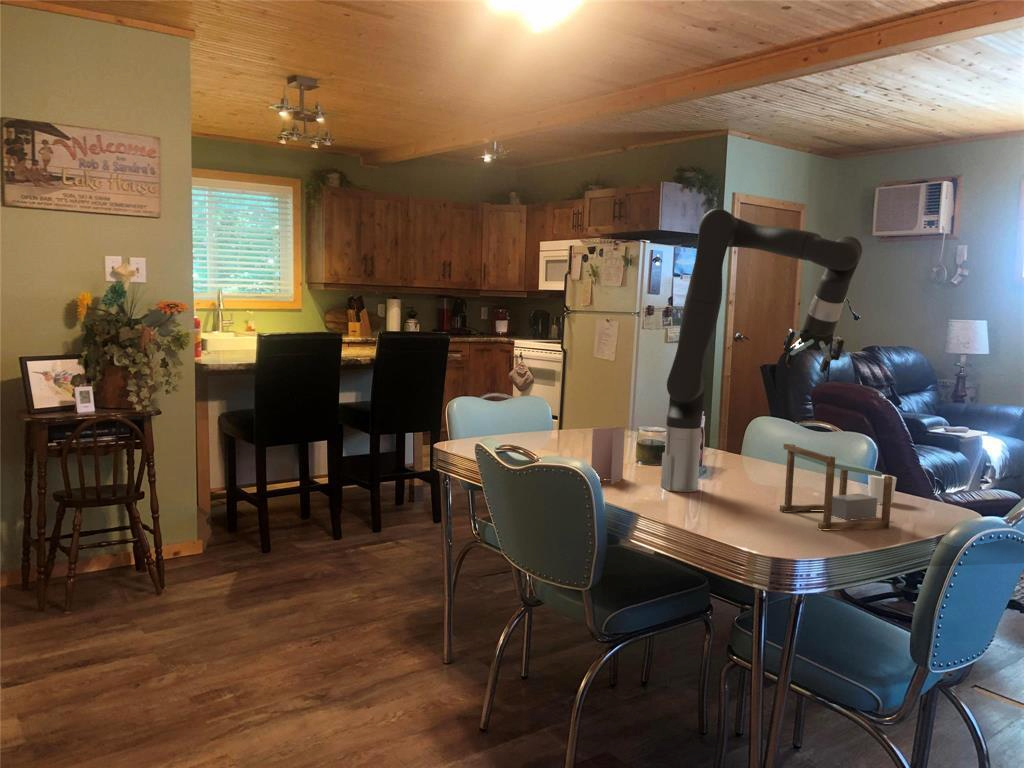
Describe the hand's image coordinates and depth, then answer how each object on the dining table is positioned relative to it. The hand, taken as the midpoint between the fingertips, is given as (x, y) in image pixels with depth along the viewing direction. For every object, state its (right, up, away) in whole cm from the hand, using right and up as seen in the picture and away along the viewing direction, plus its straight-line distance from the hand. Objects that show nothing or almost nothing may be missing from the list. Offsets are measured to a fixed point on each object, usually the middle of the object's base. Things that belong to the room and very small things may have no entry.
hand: (804, 368), depth 206 cm
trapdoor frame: (-2, -36, -23) cm, 43 cm away
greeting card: (-49, -32, +12) cm, 60 cm away
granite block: (-1, -34, -22) cm, 40 cm away
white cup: (+19, -35, -3) cm, 40 cm away
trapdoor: (-2, -23, -25) cm, 34 cm away
